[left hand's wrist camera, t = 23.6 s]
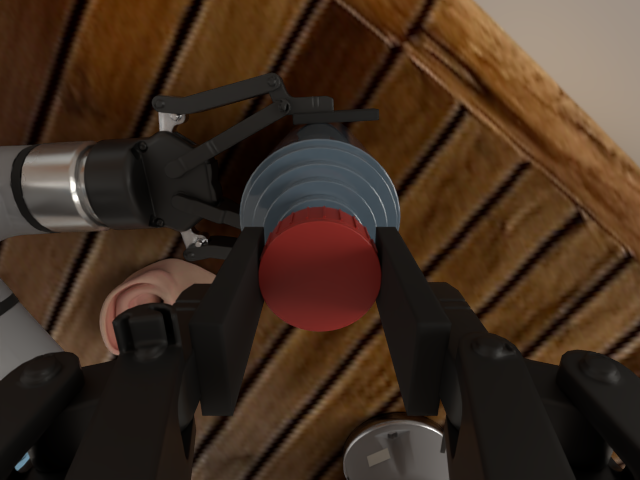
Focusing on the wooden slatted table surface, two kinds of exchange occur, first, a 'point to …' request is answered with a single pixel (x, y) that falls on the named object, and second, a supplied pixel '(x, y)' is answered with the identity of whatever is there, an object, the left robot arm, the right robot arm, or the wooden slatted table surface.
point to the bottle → (319, 180)
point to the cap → (319, 269)
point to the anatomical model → (149, 291)
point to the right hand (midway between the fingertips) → (375, 171)
